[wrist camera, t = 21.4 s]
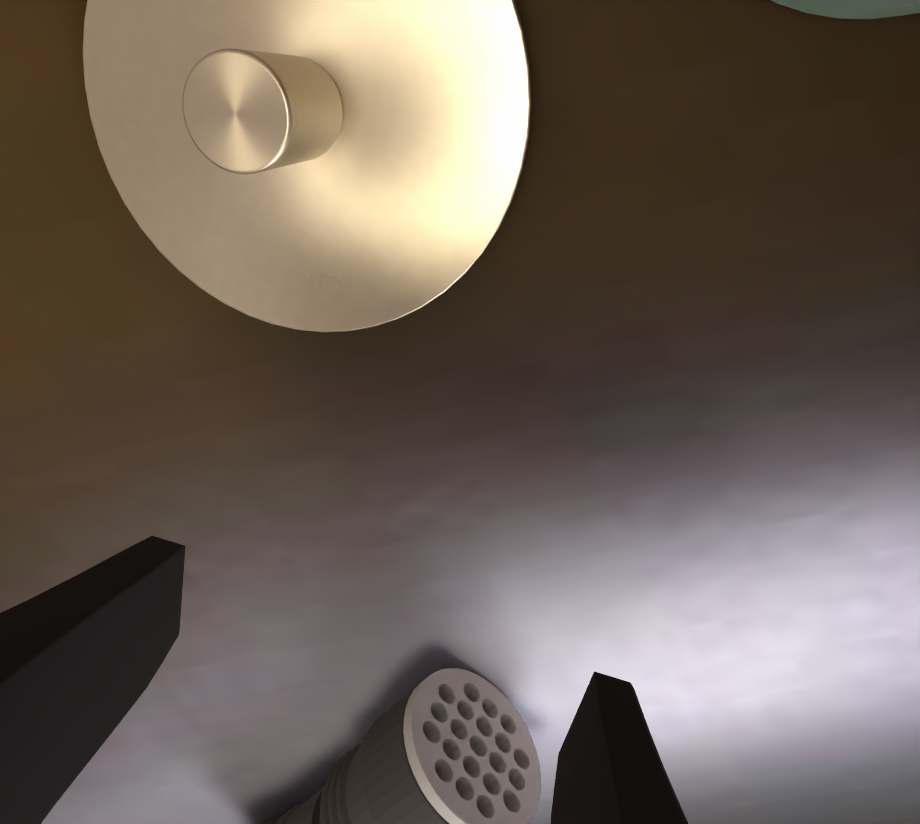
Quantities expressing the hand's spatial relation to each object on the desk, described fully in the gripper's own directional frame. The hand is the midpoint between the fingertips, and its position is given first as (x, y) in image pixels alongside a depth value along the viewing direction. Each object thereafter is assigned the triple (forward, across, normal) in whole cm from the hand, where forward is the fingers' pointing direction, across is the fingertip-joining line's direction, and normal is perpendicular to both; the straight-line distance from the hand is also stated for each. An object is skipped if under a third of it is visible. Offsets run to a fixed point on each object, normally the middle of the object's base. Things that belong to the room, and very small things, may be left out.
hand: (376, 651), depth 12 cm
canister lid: (+10, +6, -7) cm, 13 cm away
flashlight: (+11, 0, +17) cm, 20 cm away
